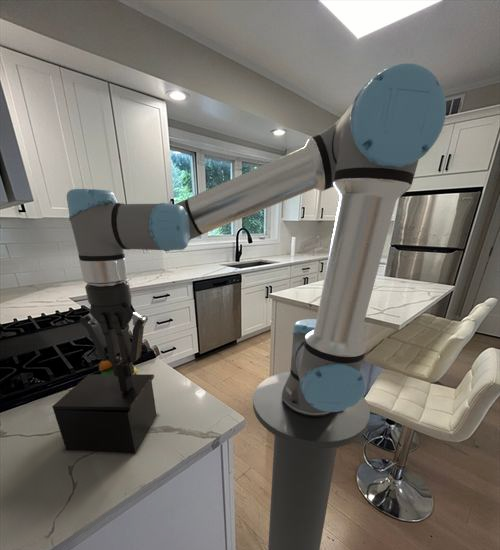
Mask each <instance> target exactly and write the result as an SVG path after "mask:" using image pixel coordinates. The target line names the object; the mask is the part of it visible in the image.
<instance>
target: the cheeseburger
mask: <svg viewBox="0 0 500 550" xmlns="http://www.w3.org/2000/svg"><path fill="white" fill-rule="evenodd" d="M121 359H122V358H120V360H121ZM133 367H134V374H137V373H138V369H137V367H136V366H135V365H134V364H133ZM98 371H99V372H100V374H114V372H113V367H112V364H111V363H110V362H109V361H102V360H101V361H100V362H99V363H98Z"/></svg>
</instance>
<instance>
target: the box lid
mask: <svg viewBox="0 0 500 550" xmlns="http://www.w3.org/2000/svg"><path fill="white" fill-rule="evenodd" d="M154 378H155V375H154V374H153V373H152V374H148V373H147V374H138V373H136V374H133V375H132V381H133V386H132V387H131V388H130V389H129V390H128V392H124V391H121V390H120V385H119V379H118V376H115V375H114V374H101V373H100V374H95V373H94V374H93V373H91V374H88V375H86V376H85V377H84V378H83V379H81V380H80V381H79V382H78V383H77V384H76V385H75V386H74V387H73V388H71V389H70V390H69V391H68V392H67V393H65V394H64V396H63V397H61V398H60V399H59V400H58V401H56V402H55V403H54V404H52V407H51V408H52V410H54V409H62V410H131V409H132V408H133V406H134V405H135V404H136V402H137V401H138V399H139V398H140V397H141V395H142V394H143V392H144V391H145V389H146V388H147V387H148V385H149V384H150V382H151V381H152V382H153V380H154Z"/></svg>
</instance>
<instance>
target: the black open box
mask: <svg viewBox="0 0 500 550" xmlns="http://www.w3.org/2000/svg"><path fill="white" fill-rule="evenodd" d="M153 387H154V386H153V380H152V381H151V382H150V384H149V385H148V387H147V388H146V389H145V391H144V392H143V394H142V395H141V397H140V398H139V399H138V401H137V402H136V404H135V405H134V406H133V408H132V409H131V410H126V411H123V410H62V409H53V413H54V416H55V420H56V422H57V426H58V429H59V432H60V434H61V438H62V441H63V444H64V448H65V450H66V451H80V452H81V451H83V452H97V453H98V452H101V453H116V454H117V453H119V454H136V453H137V451H138V450H139V448H140V446H141V444H142V443H143V441H144V439H145V438H146V435H147V434H148V432H149V430H150V428H151V427H152V425H153V423H154V421H155V420H156V417H157V416H158V414H157V407H156V402H155V401H156V400H155V395H154V388H153Z"/></svg>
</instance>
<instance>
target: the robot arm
mask: <svg viewBox="0 0 500 550" xmlns="http://www.w3.org/2000/svg"><path fill="white" fill-rule="evenodd" d="M446 99H447V98H446V95H445V91H444V88H443V86H442V85H440V82H439V80H438V79H437V76H436V74H434V73H433V72H432V71H431V70H430V69H428V68H427V67H424V66H422V65H420V64H416V63H407V62H405V63H399V64H395V65H392V66H389V67H388V68H387V67H386V68H385V69H383V70H382V71H381V72H379V73H378V74H376V75H375V76H374V77H373V78H371V79H370V80H369V81H368V82H367V83H365V84H364V86H362V88H361V89H360V90H359V92H358V93H357V95H356V96H355V99H354V100H353V102H352V103H351V104H350V106H349V107H348V108H347V109H346V111H345V112H344V113H343V115H342V116H341V117H340V118H339V119H338V120H337V121H335V122H334V123H333V124H332V125H331V126H329V127H328V128H326V129H325V130H323V131H321V132H320V133H318V134H316V135H313V136H312V137H309V138H308V139H307V141H306V143H305V146H304V147H301V148H299V149H297V150H295V151H292V152H290V153H287V154H286V155H284V156H281V157H279V158H277V159H274V160H272V161H270V162H268V163H265V164H263V165H260V166H258V167H256V168H254V169H252V170H249V171H246V172H245V173H243V174H239V175H238V176H236V177H233V178H231V179H229V180H226V181H224V182H222V183H220V184H218V185H216V186H213V187H211V188H209V189H207V190H204V191H202V192H200V193H197V194H195V195H193V196H190V197H187V199H183V200H181V201H178V202H177V203H175V204H174V203H165V202H159V203H121V202H118V200H117V198H116V195H115V193H114V192H113V191H111V190H107V189H106V190H105V189H96V188H95V189H94V188H73V189H70V190H69V191H67V192H66V203H67V209H68V220H69V221H70V226H71V228H72V229H71V230H72V232H73V237H74V240H75V246H76V249H77V254H78V260H79V261H78V262H79V266H80V271H81V277H82V280H83V282H85V283H87V284H86V285H85V286H84V289H85V292H86V298H87V302H88V304H89V305H90V308H89V313H88V314H85V315H84V316H82V317H80V318H79V322H80V324H81V325H82V326H83V327H84V328H85V329H86V331H87V333H88V335H89V338H90V339H91V341H92V343H93V346H94V348H95V350H96V351H97V354H98V356H99V358H100V360H101V361H109V362H110V363H111V364H112V367H113V372H114V375H115V376H118V379H119V385H120V390H121V391H124V392H128V390H129V389H130V388H131V387H132V386H133V381H132V375H133V374H134V367H133V365H134V363H136V362H137V360H138V359H139V358H140V357H141V356H142V347H143V338H144V330H145V329H144V328H145V325H146V324H147V322H148V320H149V318H148V316H147V315H140V314H139V313H137V312H136V309H135V307H134V306H133V303H132V294H131V293H132V292H131V287H130V282H129V281H128V280H127V279H129V274H128V269H127V262H126V255H125V250H143V251H147V250H148V251H163V252H170V251H183V250H185V249H186V248H187V247H188V244H189V242H190V241H191V240H192V239H196V238H198V237H200V236H202V235H204V234H207V233H209V232H212V231H215V230H217V229H219V228H222V227H224V226H226V225H229V224H231V223H234V222H236V221H238V220H242V219H243V218H247V217H249V216H251V215H254V214H256V213H258V212H261V211H263V210H265V209H268V208H271V207H273V206H275V205H278V204H281V203H283V202H285V201H287V200H290V199H293V198H295V197H298V196H300V195H302V194H305V193H307V192H310V191H312V190H318V191H319V192H324V191H326V190H328V189H331V188H335V190H336V191H337V192H338V195H339V201H338V207H337V211H336V216H335V221H334V228H333V233H332V237H331V242H330V247H329V254H328V258H327V264H326V269H325V273H324V279H323V283H322V289H321V294H320V299H319V304H318V309H317V310H318V311H317V315H316V318H306V319H300V320H298V321H296V322H295V323H294V325H293V330H292V344H291V345H292V346H291V357H290V358H291V359H290V370H289V372H290V375H289V377H288V379H287V381H286V383H285V386H284V388H283V391H282V401H283V404H284V405H285V406H286V407H287V408H288V409H289V410H290V411H292V412H293V413H295V414H298V415H300V416H304V417H308V418H323V417H327V416H330V415H332V414H333V413H335V412H338V411H343V410H346V408H348V407H352V406H354V405H355V404H356V403H358V402H359V401H360V399H361V398H362V396H363V397H364V394H365V392H366V381H365V376H364V375H363V373H362V371H361V369H362V365H363V361H364V358H365V354H366V349H367V347H366V344H365V343H364V342H363V341H362V340H361V335H362V332H363V328H364V324H365V320H366V316H367V313H368V309H369V305H370V301H371V297H372V293H373V290H374V287H375V283H376V278H377V274H378V271H379V267H380V264H381V261H382V256H383V253H384V249H385V244H386V241H387V237H388V233H389V230H390V225H391V221H392V218H393V214H394V211H395V207H396V204H397V203H396V202H397V201H398V199H399V198H400V197H401V196H403V195H404V194H405V193H407V192H408V191H410V190H411V188H412V186H413V181H414V178H415V175H416V171H417V167H418V164H419V160H420V159H422V158H423V157H424V156H425V155H426V154H427V153H428V152H429V151H430V149H432V148H433V146H434V145H435V144H436V142H437V140H438V139H439V138H440V135H441V132H442V131H443V128H444V125H445V121H446V117H447V116H446V114H447V100H446ZM131 321H132V325H133V329H132V336H130V322H131ZM130 337H131V338H130ZM120 358H122V359H121V360H120Z"/></svg>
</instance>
